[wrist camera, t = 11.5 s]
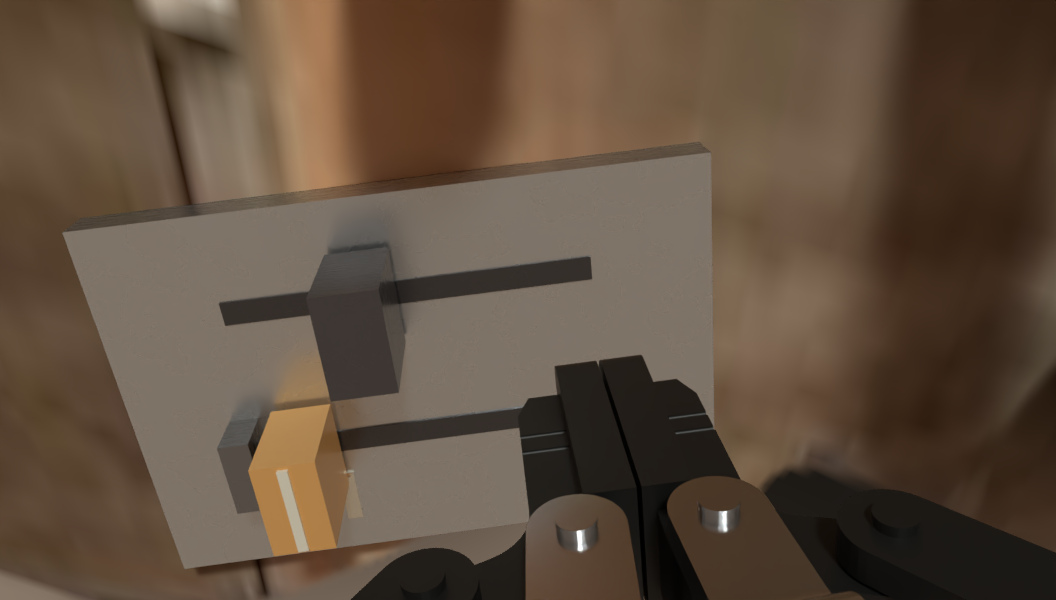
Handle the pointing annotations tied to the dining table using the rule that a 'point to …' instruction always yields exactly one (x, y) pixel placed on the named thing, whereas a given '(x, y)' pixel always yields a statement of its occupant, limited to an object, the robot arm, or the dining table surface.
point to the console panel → (439, 335)
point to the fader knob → (300, 480)
